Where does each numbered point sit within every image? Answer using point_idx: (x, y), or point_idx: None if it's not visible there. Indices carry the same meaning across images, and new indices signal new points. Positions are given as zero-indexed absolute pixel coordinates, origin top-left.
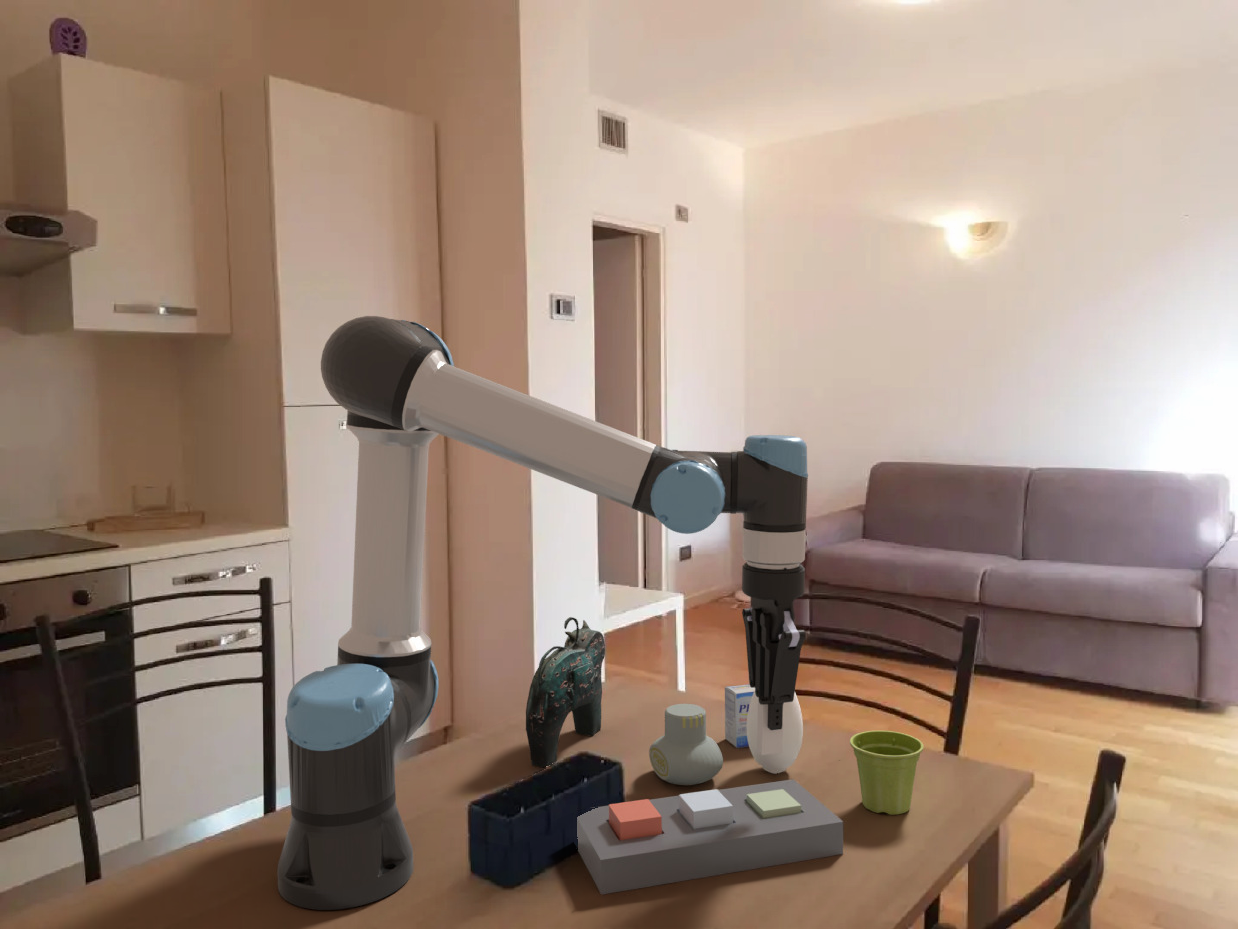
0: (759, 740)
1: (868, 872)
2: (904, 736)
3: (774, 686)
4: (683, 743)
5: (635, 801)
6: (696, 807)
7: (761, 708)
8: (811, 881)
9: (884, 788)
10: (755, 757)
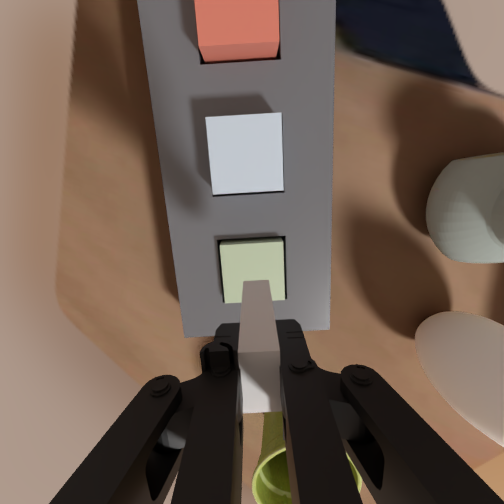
0: (256, 291)
1: (149, 323)
2: None
3: (129, 436)
4: (500, 194)
5: (274, 8)
6: (221, 128)
7: (249, 338)
8: (139, 257)
9: (268, 420)
10: (450, 312)
